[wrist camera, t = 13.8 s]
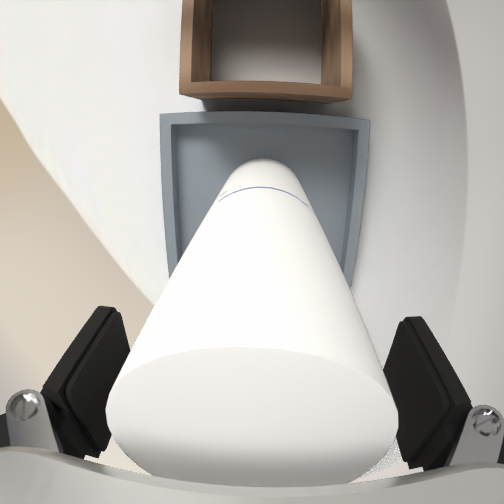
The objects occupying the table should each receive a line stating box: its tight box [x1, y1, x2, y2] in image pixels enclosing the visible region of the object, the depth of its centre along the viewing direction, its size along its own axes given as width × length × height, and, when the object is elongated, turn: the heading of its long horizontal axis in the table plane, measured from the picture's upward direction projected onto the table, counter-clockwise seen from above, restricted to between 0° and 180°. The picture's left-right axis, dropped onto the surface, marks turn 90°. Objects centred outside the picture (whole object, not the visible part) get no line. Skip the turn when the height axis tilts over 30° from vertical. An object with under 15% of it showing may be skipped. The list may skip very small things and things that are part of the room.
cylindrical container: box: [105, 158, 398, 487], centre depth 18 cm, size 7×7×25 cm
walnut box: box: [179, 0, 353, 104], centre depth 21 cm, size 12×12×8 cm
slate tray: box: [160, 111, 370, 287], centre depth 29 cm, size 16×18×2 cm
